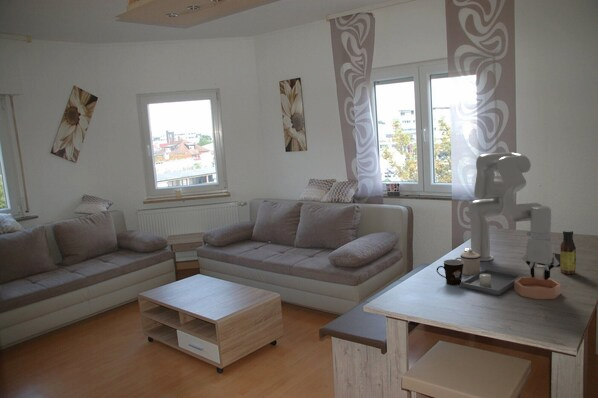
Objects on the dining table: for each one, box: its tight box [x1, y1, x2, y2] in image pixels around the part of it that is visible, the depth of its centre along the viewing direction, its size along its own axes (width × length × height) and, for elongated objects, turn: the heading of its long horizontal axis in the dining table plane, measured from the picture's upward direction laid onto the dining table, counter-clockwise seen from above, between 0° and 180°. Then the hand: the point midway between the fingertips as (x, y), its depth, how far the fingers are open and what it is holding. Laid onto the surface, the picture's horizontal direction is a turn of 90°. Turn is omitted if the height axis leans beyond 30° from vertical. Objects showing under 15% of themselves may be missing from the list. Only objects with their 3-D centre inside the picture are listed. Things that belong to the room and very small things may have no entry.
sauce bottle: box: [559, 229, 577, 275], centre depth 208 cm, size 7×6×20 cm
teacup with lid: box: [454, 248, 481, 277], centre depth 218 cm, size 12×9×12 cm
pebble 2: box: [534, 264, 546, 280], centre depth 190 cm, size 5×5×5 cm
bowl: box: [513, 276, 562, 300], centre depth 189 cm, size 16×16×4 cm
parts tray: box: [459, 268, 523, 297], centre depth 201 cm, size 17×24×2 cm
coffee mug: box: [436, 258, 464, 287], centre depth 206 cm, size 12×9×10 cm
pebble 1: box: [480, 274, 491, 288], centre depth 197 cm, size 5×5×5 cm
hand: (540, 277), depth 190 cm, fingers closed on pebble 2, 4 cm apart
